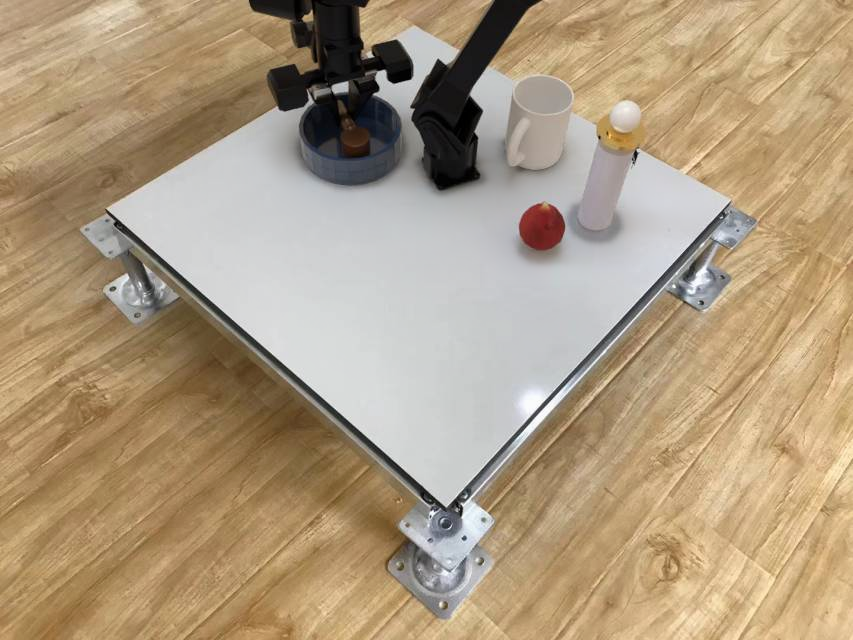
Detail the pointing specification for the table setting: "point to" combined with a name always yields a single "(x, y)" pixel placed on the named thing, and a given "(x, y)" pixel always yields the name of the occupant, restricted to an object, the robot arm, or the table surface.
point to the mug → (538, 121)
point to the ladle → (353, 136)
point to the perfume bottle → (611, 163)
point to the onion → (542, 226)
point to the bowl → (325, 142)
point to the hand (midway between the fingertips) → (344, 123)
